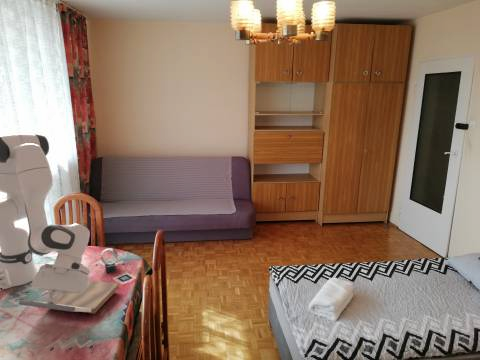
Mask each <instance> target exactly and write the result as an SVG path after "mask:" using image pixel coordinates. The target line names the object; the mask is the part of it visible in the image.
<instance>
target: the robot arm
mask: <svg viewBox="0 0 480 360" xmlns="http://www.w3.org/2000/svg"><path fill="white" fill-rule="evenodd" d="M49 151H50V145H49V141H48V138H47V137H46V136H45V135H44V134H42V133H38V132H37V133H36V132H32V133H27V132H25V133H24V132H16V133H6V134H0V192H2V193H5V194H6V197H5V198H0V289H1V288H2V290H6V289H9V288H13V287H18V286H22V285H23V286H24V285H26V284H28V283H30V282H31V287H32V288H34V289H37V290H46V291H47V299H48V301H47V303H49V304H57V302H58V300H59V299H60V298H61V297H62V296H63V295H64V292H68V293H76V294H83V293H84V292H85V290H86V287H87V284H88V280H90V279H89V275H90V273H91V269H90V268H88V267H87V266H86V265H84V264H82V261H83V255H84V253H85V252H86V250H87V247H88V245H89V244H88V243H89V242H90V236H91V233H90V232H91V231H90V229H88V227H87V226H85V225H83V224H80V223H72V224H64V225H63V224H49V225H48V219H47V215H46V210H45V203H46V199H47V196H48V195H49V193H50V191H51V190H52V188H53V174H52V170H51V167H50V164H49V161H48V159H47V155H48V153H49ZM26 218H27V223H28V229H29V232H28V231H27V230H26V229H25V228H21V227H16V226H15V222H18V221H21V220H23V219H26ZM51 252H56V253H57V255H56V258H55V260H54V263H51V264H49V263H45V264H42V265H41V266H39V268H38V267H37V266H36V263H35V260H34V257H33V254H35V255H38V256H46V255H48V254H50V253H51ZM56 291H58V292H57V294H58V295H57V296H56V297H55V298H53V294H55V292H56Z"/></svg>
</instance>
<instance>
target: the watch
mask: <svg viewBox="0 0 480 360" xmlns="http://www.w3.org/2000/svg"><path fill="white" fill-rule="evenodd" d="M108 251H109V252H110V253H111V255H112V256H113V257H114V258H115V259H114V260H110V261H106V259H104V257H103V254H104V253H106V252H108ZM118 259H119V254H118V252H117V251H116V249H115V248H114V247H108V248H107V247H106V248H105V249H103V250H102V251H101V253H100V260H101V262H102V263H103V264H104V268H105V273H106V274H109V273H115V272H116V262H118Z"/></svg>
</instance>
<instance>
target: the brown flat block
mask: <svg viewBox="0 0 480 360" xmlns="http://www.w3.org/2000/svg"><path fill="white" fill-rule="evenodd" d="M119 288H120V286H119V283H115V282H108V281H107V282H105V281H97V280H90V279H89V280H88V284H87V287H86V290H85V292H84V293H83V294H76V293H68V292H64V295H63V296H62V297H61V298H60V299H59V300H58V302H57V304H61V305H68V306H75V307H83V308H90V309H92V310H91V312H86V313H87V314H89V315H96V314H97V313H98V311H99V310H100V309H101V307H103V305H104V304H105V303H106V302H107V301H108V300H109V299H110V298H111V297H112V296H114V295H115V293H116V291H118V289H119ZM57 292H58V291H55V294H53V298H55V297H56V296H57V295H58V294H57ZM47 301H48V298H46V299H45V300H44V301H43V302H46V303H47Z"/></svg>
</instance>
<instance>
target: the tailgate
mask: <svg viewBox="0 0 480 360" xmlns="http://www.w3.org/2000/svg"><path fill="white" fill-rule="evenodd" d="M18 304H19V306H20V305H21V306H28V307H34V308H43V309H50V310H57V311H64V312H70V313H73V312H74V313H75V312H77V313H78V312H82V313H87V312H91V310H92V309H90V308H83V307H75V306H68V305H61V304H49V303H46V302H44V301H35V300H26V299H25V300H24V299H20V300H19V303H18Z"/></svg>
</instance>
